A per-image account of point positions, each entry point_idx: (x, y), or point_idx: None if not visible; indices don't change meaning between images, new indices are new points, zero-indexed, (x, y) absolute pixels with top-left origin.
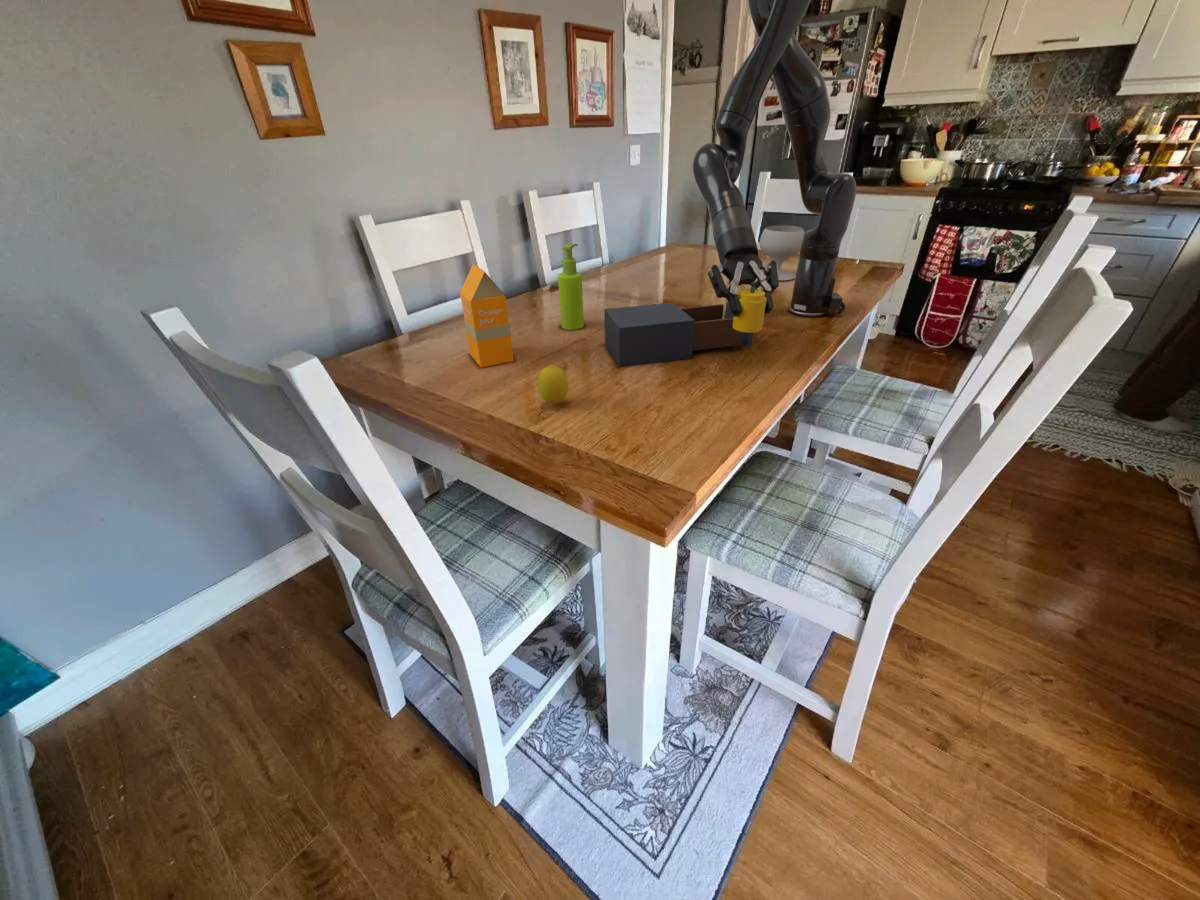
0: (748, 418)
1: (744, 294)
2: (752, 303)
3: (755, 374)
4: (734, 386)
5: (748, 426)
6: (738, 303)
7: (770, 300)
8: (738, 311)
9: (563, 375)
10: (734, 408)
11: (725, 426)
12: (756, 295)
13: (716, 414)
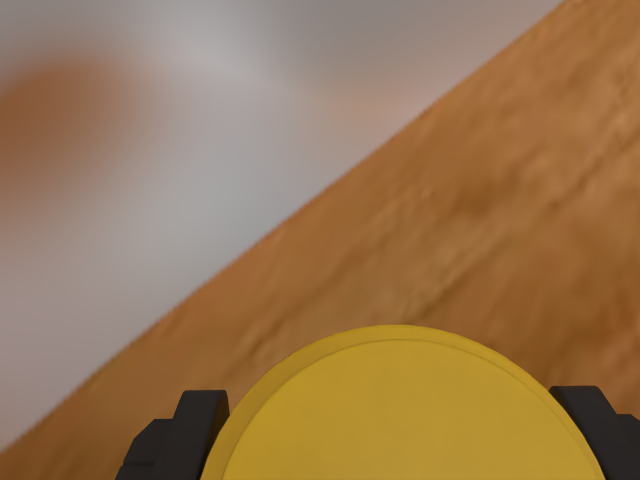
0: (523, 71)
1: (566, 469)
2: (462, 338)
3: None
4: (483, 322)
5: (542, 29)
6: (611, 447)
7: (161, 450)
8: (591, 387)
9: None
10: (550, 142)
11: (621, 43)
12: (408, 368)
13: (634, 117)
